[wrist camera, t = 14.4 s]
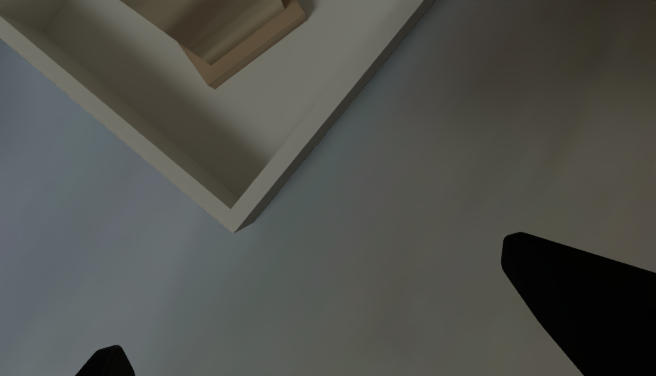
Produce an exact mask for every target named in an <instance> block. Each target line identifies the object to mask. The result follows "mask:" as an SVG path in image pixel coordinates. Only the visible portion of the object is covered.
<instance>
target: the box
mask: <svg viewBox="0 0 656 376" xmlns="http://www.w3.org/2000/svg"><path fill="white" fill-rule="evenodd" d="M296 1H297V2H298V4H299V5H300V7H301V8H302V9H303V11H304V12H305V15H306V18H307V21H306V22H304V23H303V24H302V25H300V26H299V27H298V28H296V29H295V30H294V31H292V32H291V33H290V34H288V35H287V36H286V37H284V38H283V39H282V40H280V41H279V42H278V43H276V44H275V45H274V46H272V47H271V48H270V49H268V50H267V51H266V52H264V53H263V54H262V55H260V56H259V57H258V58H256V59H255V60H254V61H252V62H251V63H250V64H248V65H247V66H246V67H244V68H243V69H242V70H240V71H239V72H238V73H236V74H235V75H234V76H232V77H231V78H230V79H228V80H227V81H226V82H224V83H223V84H222V85H220V86H219V87H218V88H216V89H213V88H211V87H209V86H208V85H207V84H206V82H205V81H204V79H203V78H202V76H201V75H200V74H199V72H198V71H197V69H196V68H195V67H194V65H193V64H192V62H191V61H190V59H189V58H188V57H187V55H186V54H185V52H184V51H183V50H182V48H181V47H180V45H179V44H178V42H177V41H176V40H174V39H173V38H171V37H170V36H169V35H167V34H166V33H165V32H163V31H162V30H160V29H159V28H158V27H156V26H155V25H153V24H152V23H151V22H149V21H148V20H146V19H145V18H144V17H142V16H141V15H139V14H138V13H137V12H135V11H134V10H133V9H131V8H130V7H128V6H127V5H126V4H124V3H123V2H121V1H120V0H0V38H1V39H2V40H3V41H4V42H5V43H7V44H8V45H9V46H10V47H11V48H13V49H14V50H15V51H16V52H17V53H19V54H20V55H21V56H22V57H23V58H25V59H26V60H27V61H28V62H29V63H30V64H32V65H33V66H34V67H35V68H36V69H38V70H39V71H40V72H41V73H42V74H44V75H45V76H46V77H47V78H48V79H50V80H51V81H52V82H53V83H54V84H56V85H57V86H58V87H59V88H60V89H61V90H63V91H64V92H65V93H66V94H67V95H69V96H70V97H71V98H72V99H73V100H75V101H76V102H77V103H78V104H79V105H81V106H82V107H83V108H84V109H85V110H86V111H88V112H89V113H90V114H91V115H92V116H94V117H95V118H96V119H97V120H98V121H100V122H101V123H102V124H103V125H104V126H106V127H107V128H108V129H109V130H110V131H111V132H113V133H114V134H115V135H116V136H117V137H119V138H120V139H121V140H122V141H123V142H125V143H126V144H127V145H128V146H129V147H131V148H132V149H133V150H134V151H135V152H137V153H138V154H139V155H140V156H141V157H142V158H144V159H145V160H146V161H147V162H148V163H150V164H151V165H152V166H153V167H154V168H156V169H157V170H158V171H159V172H160V173H162V174H163V175H164V176H165V177H166V178H167V179H169V180H170V181H171V182H172V183H173V184H175V185H176V186H177V187H178V188H179V189H181V190H182V191H183V192H184V193H185V194H187V195H188V196H189V197H190V198H191V199H193V200H194V201H195V202H196V203H197V204H198V205H200V206H201V207H202V208H203V209H204V210H206V211H207V212H208V213H209V214H210V215H212V216H213V217H214V218H215V219H216V220H218V221H219V222H220V223H221V224H222V225H223V226H225V227H226V228H227V229H228V230H229V231H231V232H232V233H233V234H234V233H236V232H237V231H239V230H241V229H243V228H245V227H246V226H248V225H250V224H252V223H253V222H254V221H255V219H256V218H257V217H258V216H259V215H260V213H261V212H262V211H263V210H264V208H265V207H266V206H267V205H268V204H269V202H270V201H271V200H272V199H273V197H274V196H275V195H276V194H277V193H278V191H279V190H280V189H281V188H282V187H283V185H284V184H285V183H286V182H287V180H288V179H289V178H290V177H291V176H292V174H293V173H294V172H295V171H296V169H297V168H298V167H299V166H300V165H301V163H302V162H303V161H304V160H305V158H306V157H307V156H308V155H309V154H310V152H311V151H312V150H313V149H314V147H315V146H316V145H317V144H318V143H319V141H320V140H321V139H322V138H323V136H324V135H325V134H326V133H327V132H328V130H329V129H330V128H331V127H332V125H333V124H334V123H335V122H336V121H337V119H338V118H339V117H340V116H341V114H342V113H343V112H344V111H345V110H346V108H347V107H348V106H349V105H350V103H351V102H352V101H353V100H354V99H355V97H356V96H357V95H358V94H359V93H360V91H361V90H362V89H363V88H364V86H365V85H366V84H367V83H368V82H369V80H370V79H371V78H372V77H373V75H374V74H375V73H376V72H377V71H378V69H379V68H380V67H381V66H382V64H383V63H384V62H385V61H386V60H387V58H388V57H389V56H390V55H391V53H392V52H393V51H394V50H395V49H396V47H397V46H398V45H399V44H400V42H401V41H402V40H403V39H404V38H405V36H406V35H407V34H408V33H409V31H410V30H411V29H412V28H413V27H414V25H415V24H416V23H417V22H418V20H419V19H420V18H421V17H422V16H423V14H424V13H425V12H426V11H427V9H428V8H429V7H430V6H431V5H432V3H433V2H434V1H435V0H296Z"/></svg>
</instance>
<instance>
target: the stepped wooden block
mask: <svg viewBox="0 0 656 376" xmlns="http://www.w3.org/2000/svg"><path fill="white" fill-rule="evenodd" d="M120 1H121V2H123V3H124V4H126V5H127V6H128V7H130V8H131V9H133V10H134V11H135V12H137V13H138V14H139V15H141V16H142V17H144V18H145V19H146V20H148V21H149V22H151V23H152V24H153V25H155V26H156V27H158V28H159V29H160V30H162V31H163V32H165V33H166V34H167V35H169V36H170V37H171V38H173V39H174V40H176V41H177V42H178V44H179V45H180V47H181V48H182V50H183V51H184V52H185V54H186V55H187V57H188V58H189V59H190V61H191V62H192V64H193V65H194V67H195V68H196V69H197V71H198V72H199V74H200V75H201V76H202V78H203V79H204V81H205V82H206V84H207V85H208V86H209V87H211V88H213V89H216V88H218V87H219V86H220V85H222V84H223V83H224V82H226V81H227V80H228V79H230V78H231V77H232V76H234V75H235V74H236V73H238V72H239V71H240V70H242V69H243V68H244V67H246V66H247V65H248V64H250V63H251V62H252V61H254V60H255V59H256V58H258V57H259V56H260V55H262V54H263V53H264V52H266V51H267V50H268V49H270V48H271V47H272V46H274V45H275V44H276V43H278V42H279V41H280V40H282V39H283V38H284V37H286V36H287V35H288V34H290V33H291V32H292V31H294V30H295V29H296V28H298V27H299V26H300V25H302V24H303V23H304V22H306V21H307V18H306V15H305V12H304V11H303V9H302V8H301V7H300V5H299V4H298V2H297V1H296V0H120Z"/></svg>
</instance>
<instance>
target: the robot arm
mask: <svg viewBox="0 0 656 376" xmlns="http://www.w3.org/2000/svg"><path fill="white" fill-rule="evenodd" d="M501 266H502V269H503V271H504V273H505V274H506V276H507V277H508V278H509V280H510V281H511V283H512V284H513V286H514V287H515V289H516V290H517V291H518V293H519V294H520V296H521V297H522V299H523V300H524V302H525V303H526V304H527V306H528V307H529V309H530V310H531V312H532V313H533V315H534V316H535V317H536V319H537V320H538V321H539V323H540V324H541V325H542V326H543V328H544V329H545V330H546V331H547V333H548V334H549V335H550V336H551V337H552V339H553V340H554V341H555V342H556V343H557V344H558V346H559V347H560V348H561V349H562V350H563V352H564V353H565V354H566V355H567V356H568V357H569V359H570V360H571V361H572V362H573V363H574V365H575V366H576V367H577V368H578V369H579V370H580V372H581V373H582V374H583V375H584V376H656V273H654V272H651V271H648V270H645V269H641V268H638V267H635V266H631V265H628V264H625V263H622V262H618V261H615V260H612V259H609V258H605V257H602V256H599V255H596V254H592V253H589V252H586V251H583V250H579V249H576V248H573V247H569V246H566V245H563V244H560V243H556V242H553V241H550V240H547V239H543V238H540V237H537V236H534V235H530V234H527V233H524V232H517V233H514V234H510V235H507V236H506V237H505V238H504V240H503V248H502V256H501ZM75 376H135V373H134V370H133V368H132V366H131V364H130V362H129V360H128V358H127V356H126V354H125V352H124V351H123V349H122V347H121V346H119V345H113V346H110V347H106V348H103V349H100V350H97V351H96V352H95V353H94V354H93V355H92V356H91V358H90V359H89V360H88V361H87V362H86V363H85V365H84V366H83V367H82V368H81V369H80V370H79V372H78V373H77V374H76V375H75Z"/></svg>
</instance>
